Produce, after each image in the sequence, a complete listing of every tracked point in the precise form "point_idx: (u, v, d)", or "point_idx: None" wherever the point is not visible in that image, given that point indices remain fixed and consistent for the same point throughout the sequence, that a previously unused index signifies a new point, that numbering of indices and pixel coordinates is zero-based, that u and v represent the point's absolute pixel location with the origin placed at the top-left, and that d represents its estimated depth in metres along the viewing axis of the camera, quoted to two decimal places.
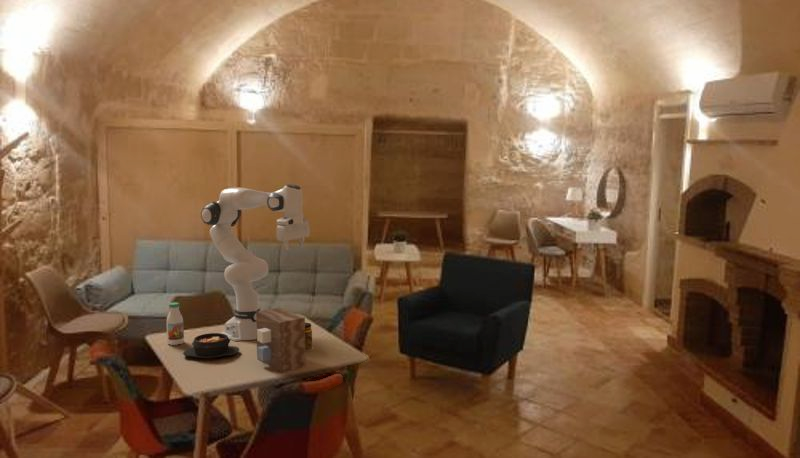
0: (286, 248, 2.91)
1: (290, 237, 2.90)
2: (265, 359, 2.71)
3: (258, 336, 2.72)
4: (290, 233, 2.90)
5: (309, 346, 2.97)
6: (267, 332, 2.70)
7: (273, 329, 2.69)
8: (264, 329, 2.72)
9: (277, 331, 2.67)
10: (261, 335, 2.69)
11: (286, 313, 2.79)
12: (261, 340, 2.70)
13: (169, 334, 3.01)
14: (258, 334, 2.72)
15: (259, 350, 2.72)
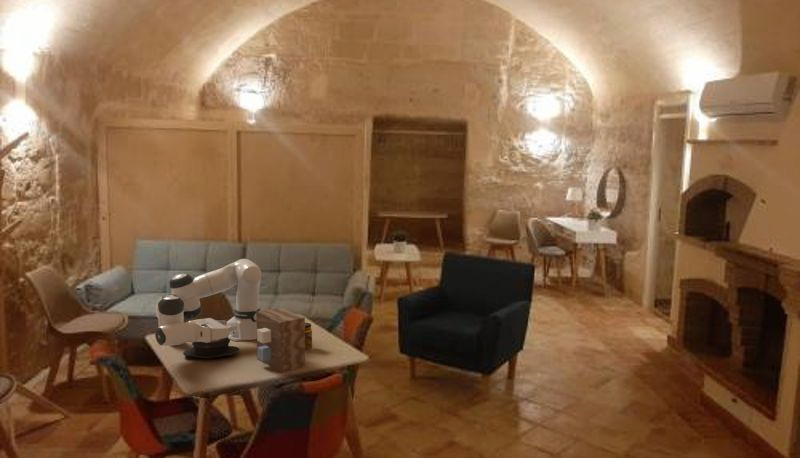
0: (234, 328, 2.58)
1: (221, 325, 2.55)
2: (265, 359, 2.71)
3: (258, 336, 2.72)
4: (216, 326, 2.54)
5: (309, 346, 2.97)
6: (267, 332, 2.70)
7: (273, 329, 2.69)
8: (264, 329, 2.72)
9: (277, 331, 2.67)
10: (261, 335, 2.69)
11: (286, 313, 2.79)
12: (261, 340, 2.70)
13: None
14: (258, 334, 2.72)
15: (259, 350, 2.72)
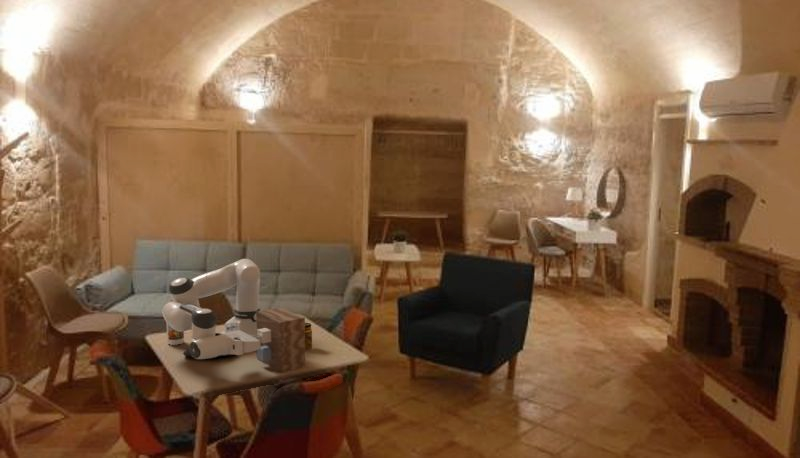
0: (260, 338, 2.69)
1: (252, 338, 2.63)
2: (265, 359, 2.71)
3: None
4: (247, 338, 2.62)
5: (309, 346, 2.97)
6: (267, 332, 2.71)
7: (273, 329, 2.69)
8: (264, 329, 2.72)
9: (277, 331, 2.67)
10: (262, 335, 2.70)
11: (286, 313, 2.79)
12: (261, 340, 2.70)
13: (169, 334, 3.01)
14: (258, 334, 2.72)
15: (259, 350, 2.72)
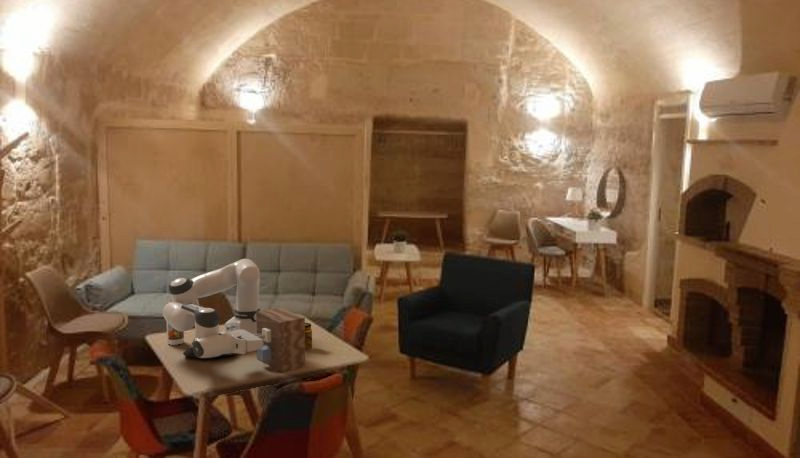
0: (263, 337, 2.71)
1: (255, 337, 2.65)
2: (265, 359, 2.71)
3: None
4: (250, 337, 2.64)
5: (309, 346, 2.97)
6: None
7: (273, 329, 2.69)
8: (268, 329, 2.74)
9: (277, 331, 2.67)
10: (266, 334, 2.71)
11: (286, 313, 2.79)
12: (266, 339, 2.72)
13: (169, 334, 3.01)
14: (263, 333, 2.73)
15: (259, 350, 2.72)
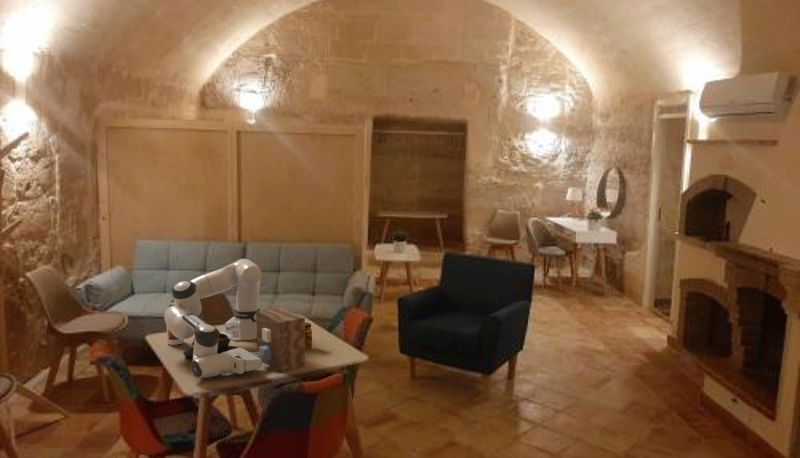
0: (261, 355, 2.71)
1: (253, 356, 2.65)
2: (266, 359, 2.71)
3: (263, 335, 2.74)
4: (248, 356, 2.64)
5: (309, 346, 2.97)
6: None
7: (273, 329, 2.69)
8: (268, 329, 2.74)
9: (277, 331, 2.67)
10: (266, 334, 2.71)
11: (286, 313, 2.79)
12: (266, 339, 2.72)
13: (169, 334, 3.01)
14: (263, 333, 2.73)
15: (260, 350, 2.73)
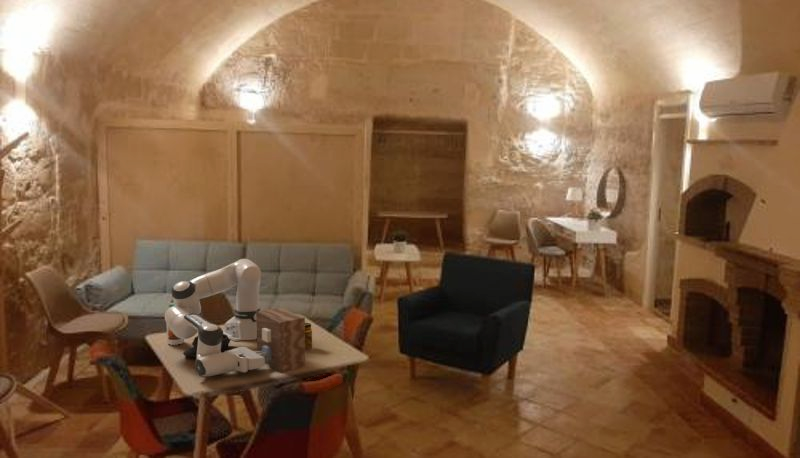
0: (264, 354, 2.72)
1: (257, 354, 2.66)
2: (269, 358, 2.73)
3: (263, 335, 2.74)
4: (252, 355, 2.65)
5: (309, 346, 2.97)
6: None
7: (273, 329, 2.69)
8: (268, 329, 2.74)
9: (277, 331, 2.67)
10: (266, 334, 2.71)
11: (286, 313, 2.79)
12: (266, 339, 2.72)
13: (169, 334, 3.01)
14: (263, 333, 2.73)
15: (264, 349, 2.74)
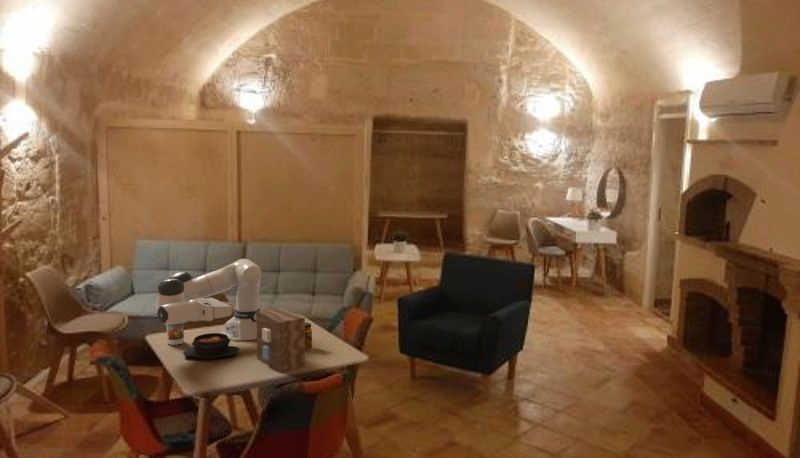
0: (232, 305, 2.60)
1: (223, 304, 2.54)
2: (269, 358, 2.73)
3: (263, 335, 2.74)
4: (218, 304, 2.53)
5: (309, 346, 2.97)
6: None
7: (273, 329, 2.69)
8: (268, 329, 2.74)
9: (277, 331, 2.67)
10: (266, 334, 2.71)
11: (286, 313, 2.79)
12: (266, 339, 2.72)
13: (169, 334, 3.01)
14: (263, 333, 2.73)
15: (264, 349, 2.74)
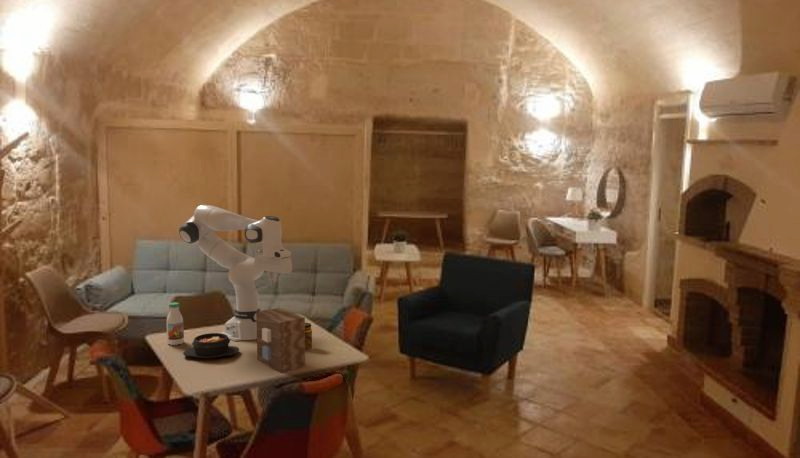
0: (275, 279, 2.88)
1: None
2: (269, 358, 2.73)
3: (263, 335, 2.74)
4: None
5: (309, 346, 2.97)
6: None
7: (273, 329, 2.69)
8: (268, 329, 2.74)
9: (277, 331, 2.67)
10: (266, 334, 2.71)
11: (286, 313, 2.79)
12: (266, 339, 2.72)
13: (169, 334, 3.01)
14: (263, 333, 2.73)
15: (264, 349, 2.74)
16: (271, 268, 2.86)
